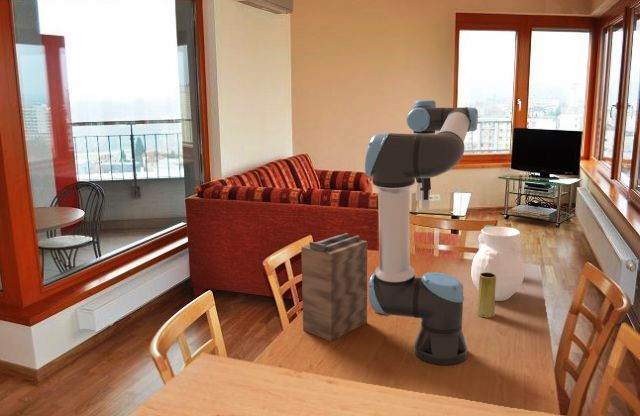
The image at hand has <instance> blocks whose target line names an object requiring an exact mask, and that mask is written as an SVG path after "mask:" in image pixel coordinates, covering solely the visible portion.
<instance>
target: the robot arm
mask: <svg viewBox="0 0 640 416" xmlns="http://www.w3.org/2000/svg"><path fill="white" fill-rule="evenodd" d="M406 116H407V117H406V125H407V126H408V128H409V129H410V130H411V131H413V133H392V132H388V133H377V134H374V135H373V136H372V137H371V138H370V141H369V142H368V145H367V150H366V152H365V153H366V154H365V161H364V171H365V173H364V174H365V175H366V176H368V177H369V178H370V177H371V179H372V185H373V186H374V187H375V189H377V197H378V198H377V200H378V205H377V206H378V242H379V243H378V244H379V245H378V246H379V266H377V267H376V268H375V270H374V273H372V274H371V275H370V277H369V281H368V299H369V300H368V301H369V303H370V306H371V308H372V310H373V311H374V312H375V311H376V312H377V313H376V314H380V313H382V314H384V315H386V316H398V317H405V318H412V319H413V318H415V319H420V320H421V321H420V323H421V324H420V329H419V331H418V334H417V336H416V338H415V341H414V348H413V349H414V354H415V355H416V357H418V358H419V359H420V360H421V361H423V362H427V363H429V364H432V365H439V366H451V365H452V366H453V365H458V364H461V363H462V362H464V361H465V360H466V359H467V356H468V346H467V342H466V340H465V339H466V338H465V336H464V333H463V313H464V312H463V311H464V301H465V296H464V285H463V283H462V281H461V280H459V279H458V278H456V277H455V276H453V275H450V274H447V273H443V272H437V271H434V272H429V271H428V272H426V273H424V274H423V276H422V277H416V273H415V272H416V270H415V269H414V268H413V267H412V266H411V265H410V264H411V263H410V259H411V258H410V256H411V255H410V252H411V251H410V246H411V245H410V244H411V242H410V237H411V236H410V189H411V188H412V187H413V186H414V185H415V183H416V185H415V186H416V187H415V189H416V190H415V201H417V202H420V209H421V210H429V209H430V190H431V189H432V186H431V185H432V184H431V183H432V182H431V178H434V177H438V176H441V175H443V174H445V173H447V172H449V171H450V170H452V169H453V168H455V166H457V165H458V164H459V162H460V161H461V160H462V158H463V156H464V153H465V144H464V143H465V139H466V136H467V133H468V132H476V131H477V128H478V118H479V111H478V109H477V108H476V107H468V106H465V107H437V102H436V101H435V100H432V99H419V100H417V99H416V100H415V101H414V104H413V109H411V110H410V111H409V112H408V114H407V115H406ZM437 131H439V132H437ZM436 132H437V133H436Z"/></svg>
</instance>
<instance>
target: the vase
mask: <svg viewBox="0 0 640 416" xmlns="http://www.w3.org/2000/svg"><path fill="white" fill-rule="evenodd" d="M495 286H496V275H495V274H493V273H489V272H484V273H480V278H479V291H478V294H477V295H478V296H477V304H476V305H477V306H476V312H475V313H476V315H477V316H478V317H481V318H485V319H490V318H491V319H492V318H494V317H495V316H496V301H495Z"/></svg>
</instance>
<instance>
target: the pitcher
mask: <svg viewBox="0 0 640 416" xmlns="http://www.w3.org/2000/svg"><path fill="white" fill-rule="evenodd" d="M493 226H494V227H485V228H484V227H483V228H481V230H480V231H481V233H480V234H479V235H478V237H477V239H478V242H479V245H481V248H480V250H479V249H478V251H477V252H476V254H474V255H475V256H473V257H474V258H473V260H472V263H471V268H470V269H471V271H470V272H471V273H470V275H471V279H472V283H473V285H474V286H475V288H476V290H477V292H479V278H480V273H484V272H489V273H493V274H495V275H496V286H495V302H504V301H507V300H509V299H510V298H511V297H512V296H513V295H514V294H515V293H516V292H517V291H518V290H519V289H520V287H521V286H522V283H524V282H523V281H524V278H525V263H524V260H523V257H522V254H521V251H522V249H523V248H522V246H523V245H522V243H521V241H520V237H521V232H520V231H519V230H518V229H517V228H513V227H509V226H508V227H507V226H495V225H493Z"/></svg>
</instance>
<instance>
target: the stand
mask: <svg viewBox="0 0 640 416" xmlns="http://www.w3.org/2000/svg"><path fill="white" fill-rule="evenodd" d="M300 251H301V286H302V287H301V292H302V294H301V295H302V297H301V298H302V331H303V332H306V333H309V334H312V335H315V336H316V337H320V338H322V339H325V340H328V342H329V341H330V342H332V341H335V340H337V339H338V338H340V337H343V336H344V335H346V334H348V333H350V332H352V331H353V330H355V329H358V328H359V327H363V325H365V324H367V323H368V241H367V240H363V239H361V237H360V235H354V236H352V237H350V234H349V233H348V232H345V233H342V234H338V235H334V236H331V237H329V238H324V239H322V240H319V241H316V242H314V241H309V244H306V245H304V246H301V249H300Z"/></svg>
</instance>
